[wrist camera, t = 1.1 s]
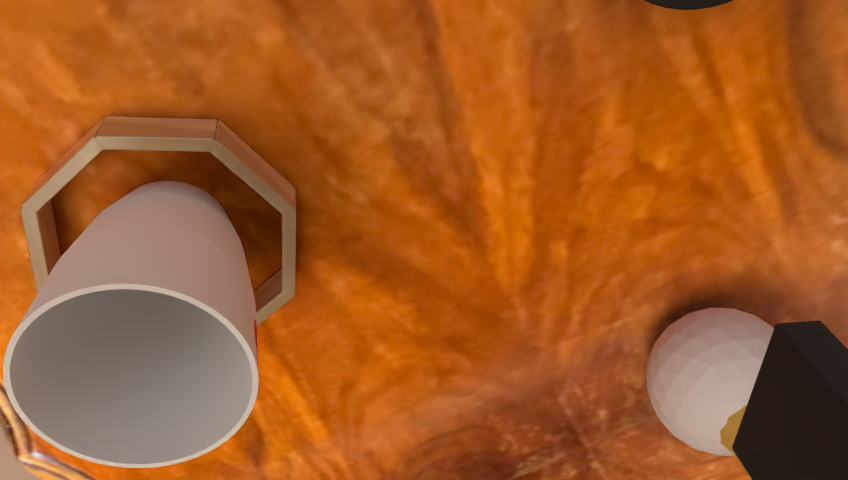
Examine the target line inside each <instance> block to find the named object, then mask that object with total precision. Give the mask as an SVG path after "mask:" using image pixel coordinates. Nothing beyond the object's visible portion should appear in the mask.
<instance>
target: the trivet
mask: <svg viewBox="0 0 848 480" xmlns="http://www.w3.org/2000/svg"><path fill="white" fill-rule="evenodd" d="M645 1H647V2H649V3H651V4H655V5H658V6H661V7H665V8H672V9H679V10H696V9H702V8H709V7H714V6H717V5H721V4H724V3H728V2H730V1H733V0H645Z"/></svg>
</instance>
